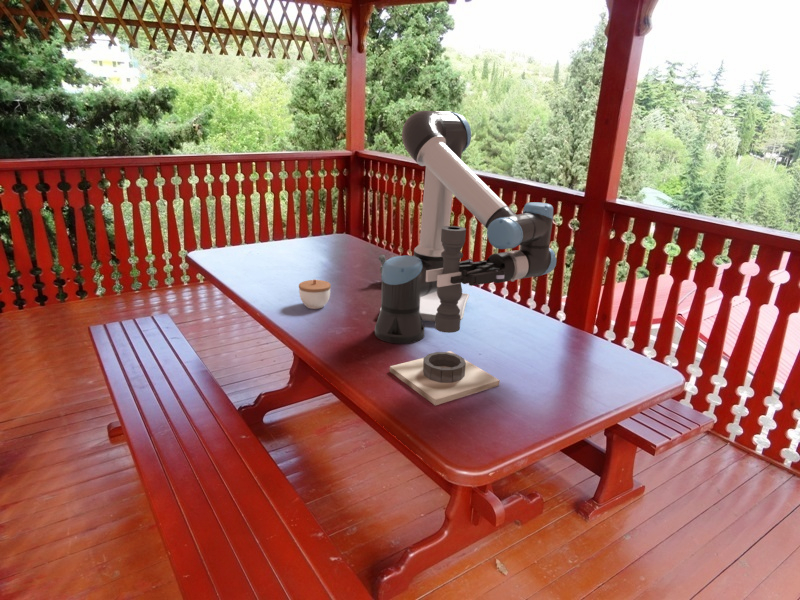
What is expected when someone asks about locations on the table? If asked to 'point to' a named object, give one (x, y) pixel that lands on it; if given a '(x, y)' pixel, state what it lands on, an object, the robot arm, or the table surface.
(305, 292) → the lidded jar
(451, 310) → the candle holder
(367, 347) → the table surface
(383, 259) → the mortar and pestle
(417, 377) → the socket board
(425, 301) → the square plate
